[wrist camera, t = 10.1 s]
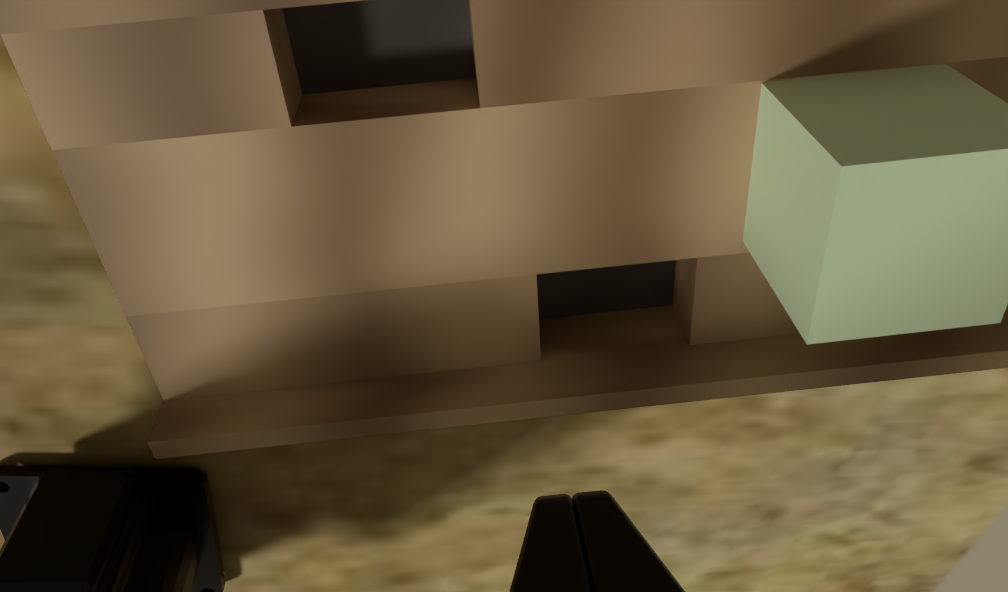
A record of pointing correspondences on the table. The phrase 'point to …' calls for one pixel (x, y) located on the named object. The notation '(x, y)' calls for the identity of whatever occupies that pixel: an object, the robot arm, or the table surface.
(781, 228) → the block
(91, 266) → the table surface
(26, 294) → the table surface
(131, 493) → the robot arm
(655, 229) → the box
